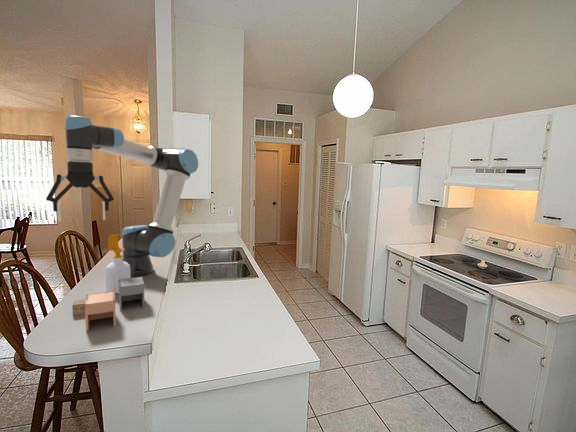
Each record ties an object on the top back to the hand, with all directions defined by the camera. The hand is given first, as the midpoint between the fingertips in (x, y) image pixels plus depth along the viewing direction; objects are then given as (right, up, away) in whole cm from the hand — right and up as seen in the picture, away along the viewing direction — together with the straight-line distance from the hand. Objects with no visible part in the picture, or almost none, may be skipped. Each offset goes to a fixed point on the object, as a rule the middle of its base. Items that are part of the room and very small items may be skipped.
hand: (82, 220), depth 113 cm
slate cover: (+16, -32, +5) cm, 36 cm away
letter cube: (+2, -33, -4) cm, 33 cm away
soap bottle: (+4, -30, +17) cm, 35 cm away
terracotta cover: (+13, -34, -10) cm, 38 cm away
